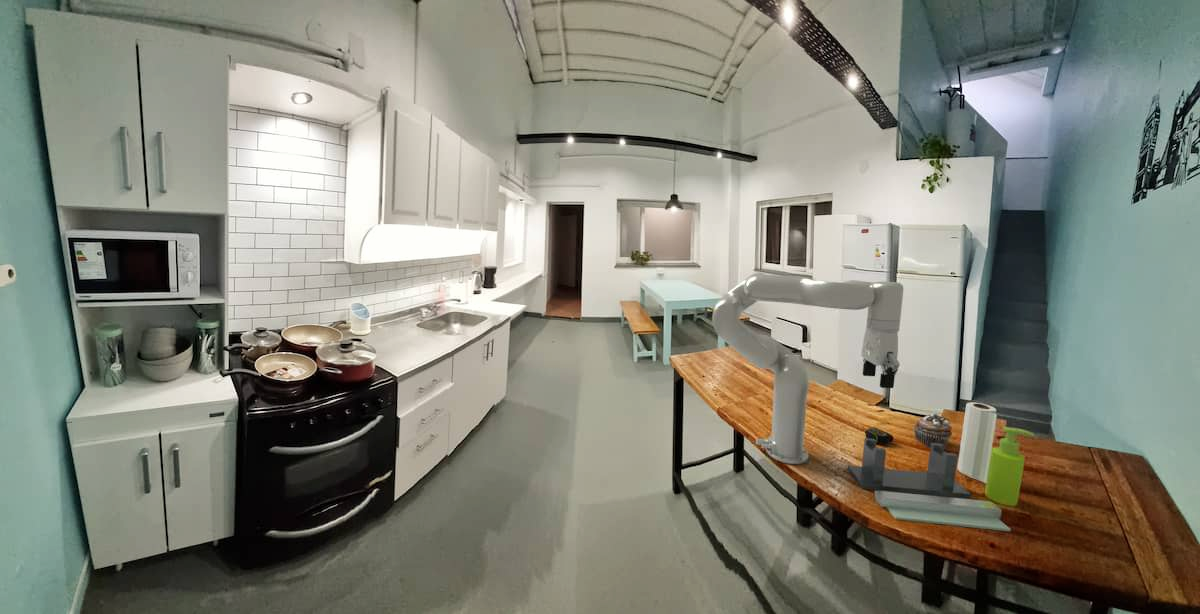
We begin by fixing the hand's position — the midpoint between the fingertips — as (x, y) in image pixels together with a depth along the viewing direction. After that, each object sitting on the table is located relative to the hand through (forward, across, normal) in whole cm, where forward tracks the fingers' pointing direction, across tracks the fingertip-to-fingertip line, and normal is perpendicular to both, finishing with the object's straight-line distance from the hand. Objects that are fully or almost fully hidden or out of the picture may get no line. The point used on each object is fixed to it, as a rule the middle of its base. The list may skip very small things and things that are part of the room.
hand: (877, 381), depth 108 cm
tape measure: (+29, -19, +12) cm, 36 cm away
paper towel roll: (+28, -2, +28) cm, 40 cm away
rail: (+28, +17, +8) cm, 33 cm away
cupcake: (+28, -20, +28) cm, 45 cm away
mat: (+28, +17, +8) cm, 34 cm away
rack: (+28, +6, +6) cm, 30 cm away
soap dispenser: (+28, +9, +28) cm, 41 cm away
